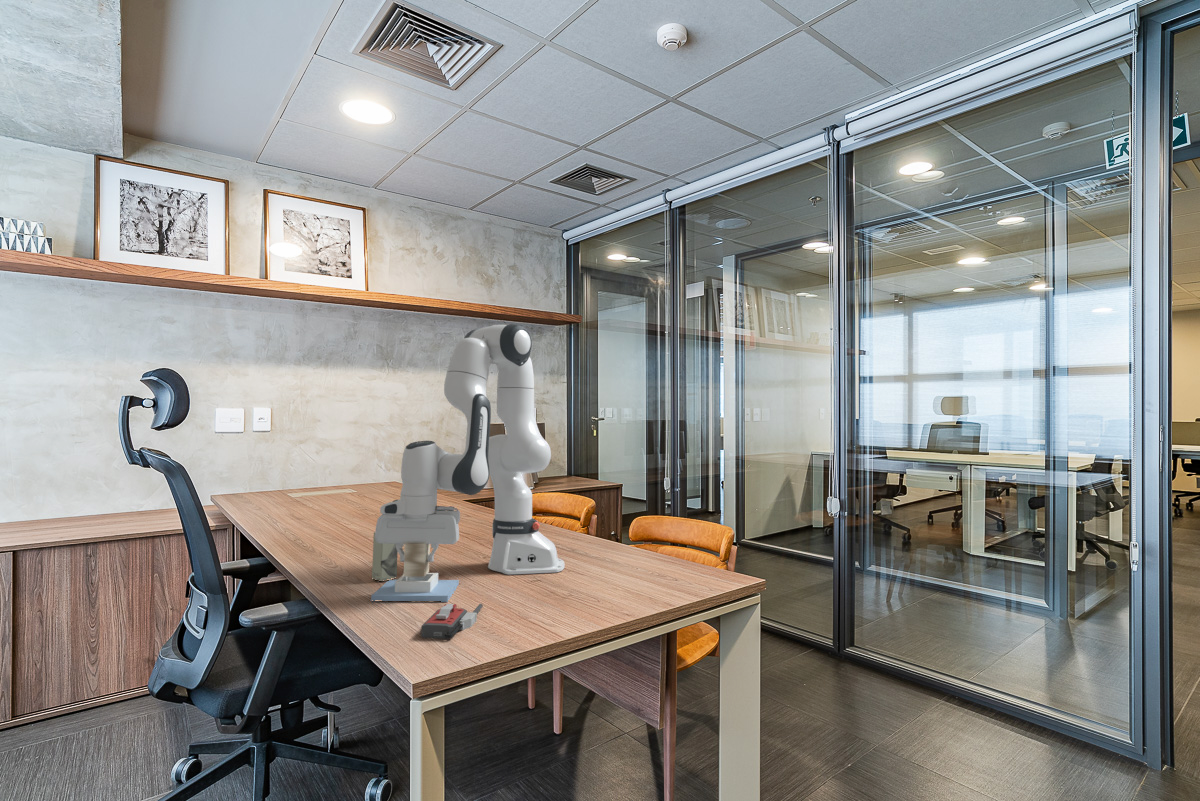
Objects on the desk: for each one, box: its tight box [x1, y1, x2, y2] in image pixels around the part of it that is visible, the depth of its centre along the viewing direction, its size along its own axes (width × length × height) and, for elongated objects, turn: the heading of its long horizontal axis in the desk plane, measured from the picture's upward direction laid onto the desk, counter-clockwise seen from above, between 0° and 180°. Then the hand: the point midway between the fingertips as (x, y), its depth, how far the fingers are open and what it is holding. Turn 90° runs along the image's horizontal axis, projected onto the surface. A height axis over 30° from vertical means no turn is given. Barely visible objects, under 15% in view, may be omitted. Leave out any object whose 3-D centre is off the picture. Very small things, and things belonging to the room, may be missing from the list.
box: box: [371, 531, 399, 581], centre depth 163 cm, size 5×4×13 cm
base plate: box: [370, 572, 460, 603], centre depth 151 cm, size 18×14×4 cm
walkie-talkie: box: [420, 603, 484, 640], centre depth 129 cm, size 9×4×20 cm
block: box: [403, 543, 431, 577], centre depth 150 cm, size 5×5×8 cm
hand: (416, 561), depth 150 cm, fingers closed on block, 5 cm apart
